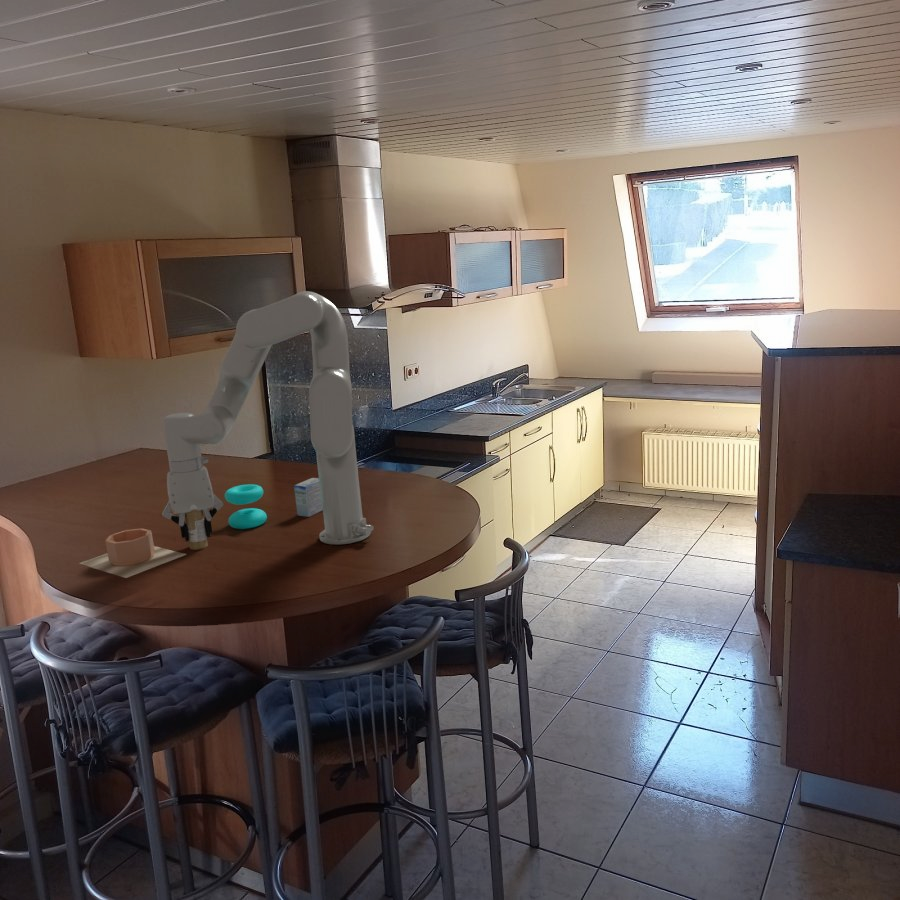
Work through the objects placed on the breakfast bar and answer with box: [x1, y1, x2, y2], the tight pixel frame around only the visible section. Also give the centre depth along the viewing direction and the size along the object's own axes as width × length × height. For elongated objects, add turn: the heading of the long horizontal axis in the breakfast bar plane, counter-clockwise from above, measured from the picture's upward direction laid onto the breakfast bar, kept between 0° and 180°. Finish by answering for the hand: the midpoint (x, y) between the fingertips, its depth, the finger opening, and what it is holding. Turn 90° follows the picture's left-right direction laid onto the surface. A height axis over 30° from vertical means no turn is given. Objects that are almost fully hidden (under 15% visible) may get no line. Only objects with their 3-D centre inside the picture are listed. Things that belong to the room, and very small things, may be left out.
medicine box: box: [293, 477, 323, 518], centre depth 226 cm, size 8×4×9 cm, turn 149°
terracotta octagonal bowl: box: [105, 528, 155, 566], centre depth 196 cm, size 10×10×6 cm
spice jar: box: [184, 505, 209, 551], centre depth 201 cm, size 5×5×14 cm
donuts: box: [224, 483, 268, 530], centre depth 220 cm, size 10×10×10 cm
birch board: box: [78, 545, 187, 579], centre depth 197 cm, size 20×16×2 cm
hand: (197, 537), depth 201 cm, fingers closed on spice jar, 4 cm apart
